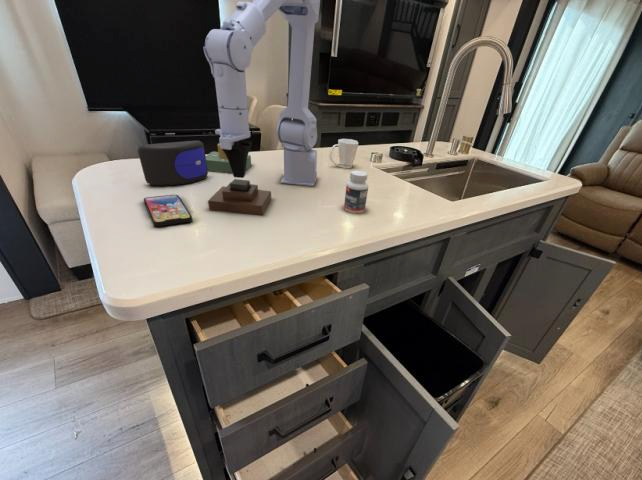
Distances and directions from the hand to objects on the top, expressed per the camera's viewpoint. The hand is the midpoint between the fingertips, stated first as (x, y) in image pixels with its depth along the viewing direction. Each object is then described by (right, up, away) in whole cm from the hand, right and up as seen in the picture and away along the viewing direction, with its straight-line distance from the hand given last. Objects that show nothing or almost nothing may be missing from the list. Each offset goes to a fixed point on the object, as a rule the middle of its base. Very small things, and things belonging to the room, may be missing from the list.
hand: (239, 176), depth 73 cm
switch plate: (-1, -5, +4) cm, 6 cm away
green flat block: (-11, +13, +26) cm, 31 cm away
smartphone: (-15, -9, -3) cm, 17 cm away
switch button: (0, -2, +2) cm, 3 cm away
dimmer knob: (-11, +15, +24) cm, 31 cm away
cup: (+24, +18, +38) cm, 48 cm away
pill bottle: (+26, -5, +8) cm, 28 cm away
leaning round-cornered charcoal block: (-20, +4, +13) cm, 24 cm away
